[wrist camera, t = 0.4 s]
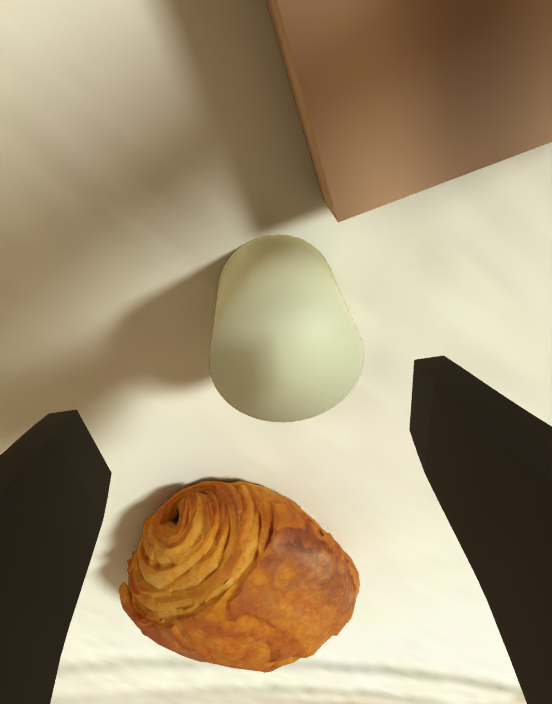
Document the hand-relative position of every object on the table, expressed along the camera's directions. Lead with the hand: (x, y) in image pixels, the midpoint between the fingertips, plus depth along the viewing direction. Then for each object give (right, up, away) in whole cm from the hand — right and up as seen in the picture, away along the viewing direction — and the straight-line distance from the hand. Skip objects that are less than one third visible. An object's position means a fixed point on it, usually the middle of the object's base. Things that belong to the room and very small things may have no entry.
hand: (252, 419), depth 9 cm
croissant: (-2, -12, +20) cm, 23 cm away
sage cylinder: (+1, +4, +9) cm, 10 cm away
